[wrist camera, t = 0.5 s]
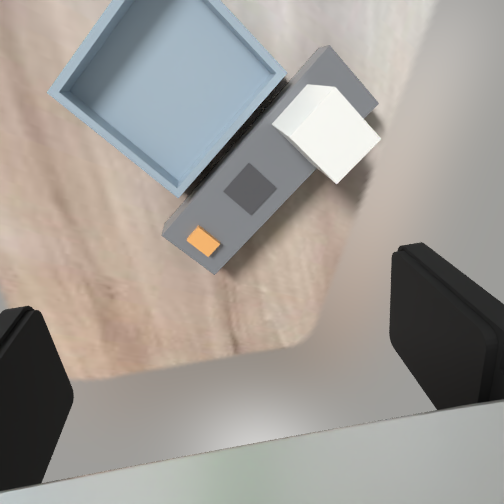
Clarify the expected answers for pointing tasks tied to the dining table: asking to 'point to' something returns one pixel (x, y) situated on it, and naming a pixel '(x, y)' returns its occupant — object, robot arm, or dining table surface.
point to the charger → (326, 130)
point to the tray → (167, 83)
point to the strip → (256, 171)
